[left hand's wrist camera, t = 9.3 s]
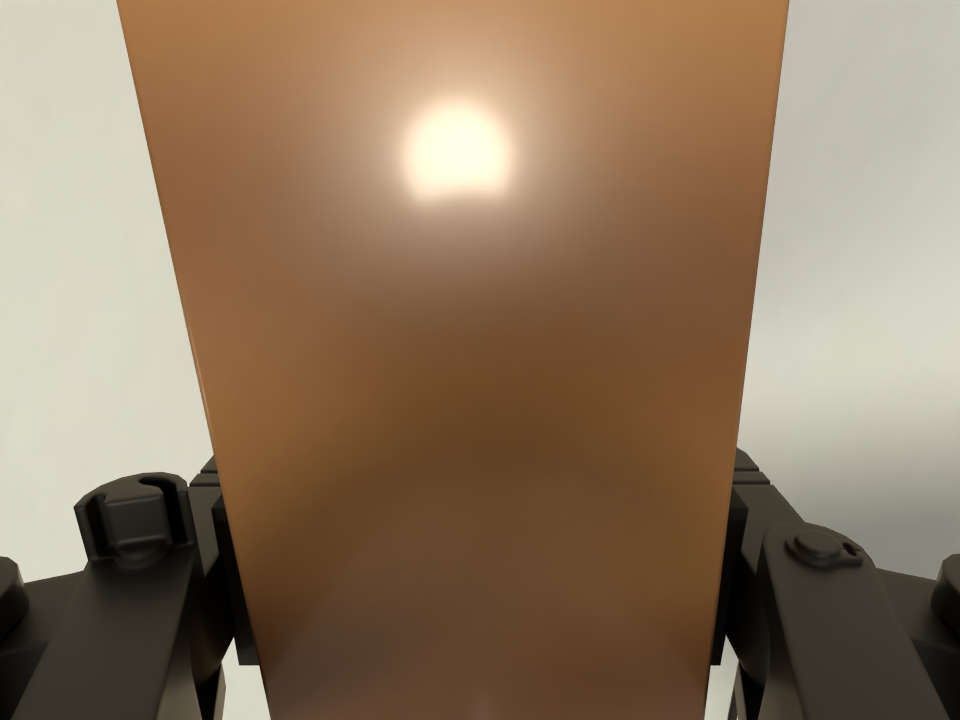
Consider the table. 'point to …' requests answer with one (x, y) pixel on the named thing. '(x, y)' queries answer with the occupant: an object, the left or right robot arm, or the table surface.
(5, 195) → the table surface
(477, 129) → the bar
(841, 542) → the left robot arm
